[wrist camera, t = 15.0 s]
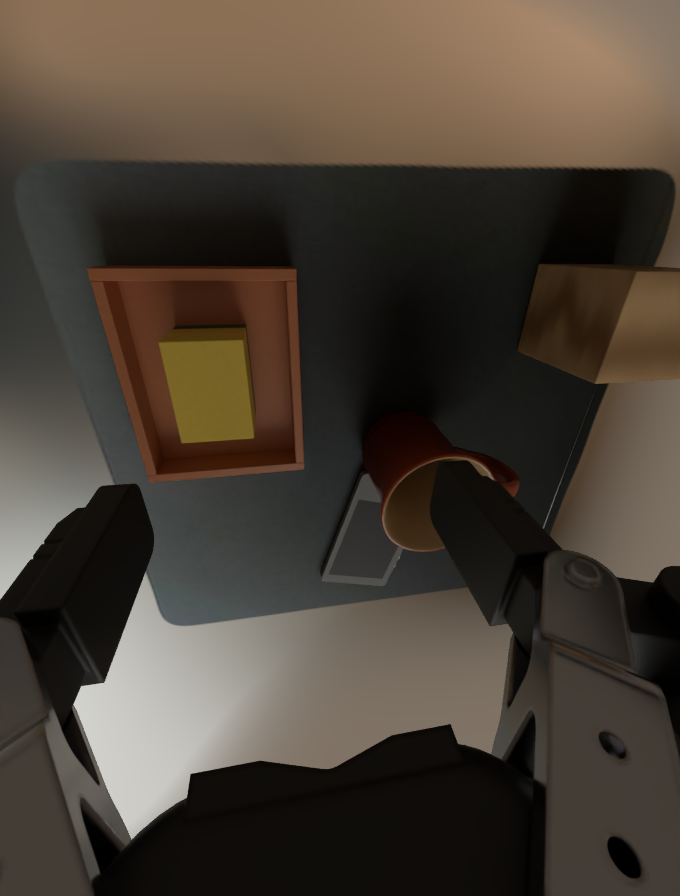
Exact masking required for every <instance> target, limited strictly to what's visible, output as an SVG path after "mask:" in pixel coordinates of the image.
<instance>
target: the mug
mask: <svg viewBox="0 0 680 896" xmlns="http://www.w3.org/2000/svg"><path fill="white" fill-rule="evenodd" d="M362 457H363V462H364V466H365V469H366V471H367V473H368V475H369V477H370V479H371V481H372V483H373V485H374V487H375V489H376V491H377V492H378V494H379V496H380V501H381V510H380V517H381V524H382V527H383V530H384V532H385V534H386V535H387V537H388V538H389V539H390V540H391V541H392V542H393V543H395V544H396V545H398V546H399V547H401V548H404V549H407V550H411V551H417V552H429V551H436V550H440V549H444V548H445V546H444V544H443V542H442V540H441V539H440V537H439V535H438V533H437V532H436V530H435V528H434V526H433V524H432V521H431V517H430V501H431V496H432V491H433V485H434V480H435V474H436V469H437V466H438V464H439V463H440V462H445V461H459V460H467V461H469V462H470V463H471V464H472V465H473V466H474V467H475V468H476V470H477V471H478V472H479V473H480V474H481V475H482V476H487V477H489V478H491V479H492V480H494V481H496V480H497V481H498V482H497V481H496V482H497V483H499V484H501V485H502V486H503V487H504V488H505V489H506V490H507V491H508V492H509V493H510V494H511V495H512V496H513V497H514V496H515V495H516V494H517V492H518V489H519V486H520V479H519V477H518V475H517V474H516V473H515V472H514V471H513V470H512V469H510V468H509V467H508V466H507V465H505V464H504V463H502V462H500V461H499V460H497V459H495V458H493V457H490V456H488V455H485V454H482V453H478V452H473V451H469V450H465V449H462V448H458V447H453V446H452V444H451V443H450V442H449V441H448V439H447V438H446V437H445V436H444V435H443V434H442V433H441V431H440V430H439V429H438V428H437V426H436V425H435V424H434V423H433V422H431V421H430V420H428V419H427V418H425V417H423V416H421V415H419V414H417V413H415V412H411V411H395V412H391V413H388V414H386V415H384V416H382V417H381V418H379V419H378V420H377V421H375V422H374V423H373V424H372V425H371V427H370V428H369V429H368V431H367V432H366V434H365V437H364V440H363V444H362ZM495 479H496V480H495Z"/></svg>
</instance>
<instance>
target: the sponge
mask: <svg viewBox="0 0 680 896" xmlns="http://www.w3.org/2000/svg"><path fill="white" fill-rule="evenodd" d="M158 344H159V348H160V352H161V357H162V361H163V365H164V370H165V374H166V378H167V383H168V387H169V392H170V396H171V400H172V405H173V409H174V413H175V418H176V422H177V426H178V431H179V435H180V439H181V443H194V442H208V441H222V440H236V439H250V438H254V437H255V418H256V407H255V398H254V389H253V380H252V371H251V362H250V352H249V343H248V334H247V325H246V324H234V325H186V326H175V327H174V328H172V330H171V331H170V332H169V333H167V334H166V335H165V336H164V337H163V338H162V339H161V340H160V341H159V342H158Z"/></svg>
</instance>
